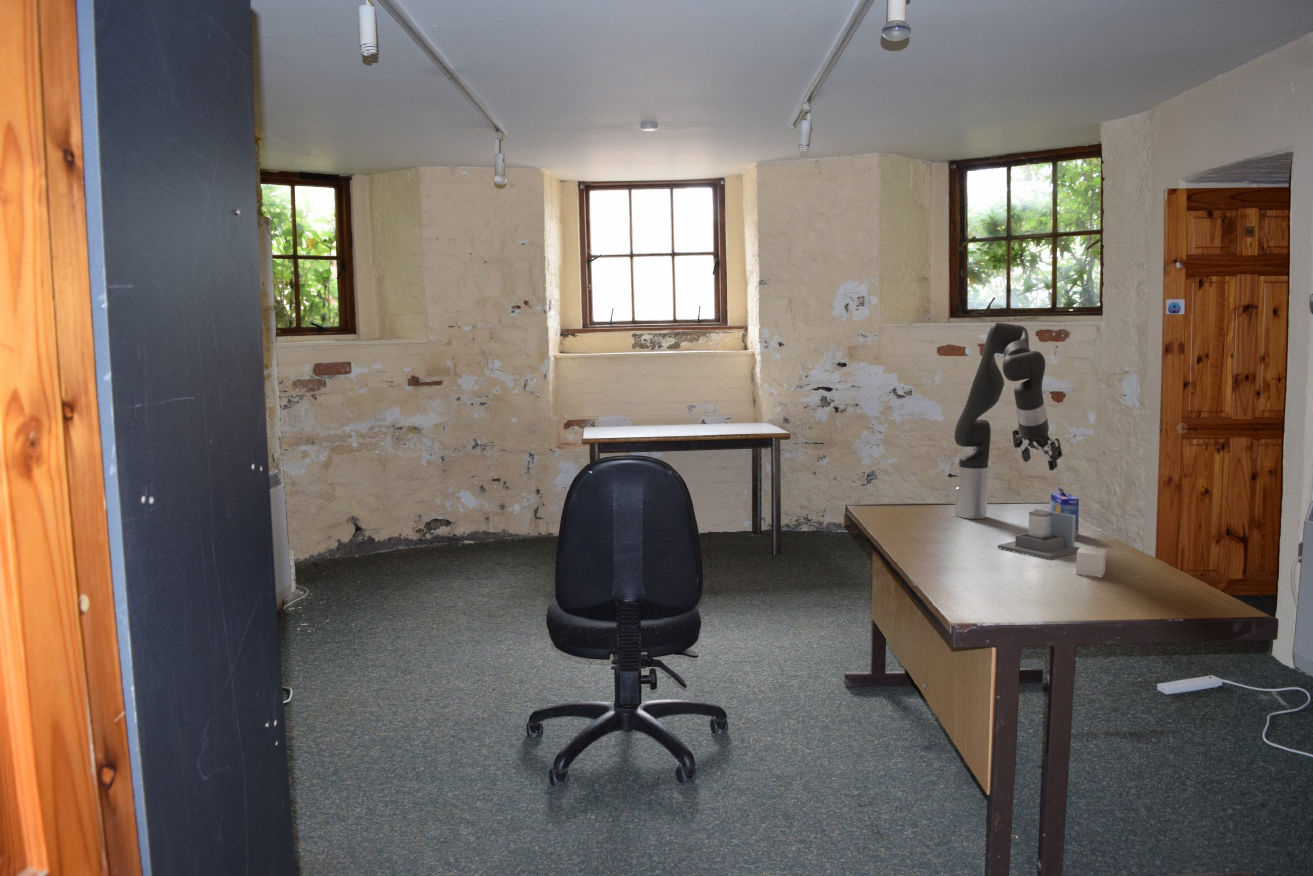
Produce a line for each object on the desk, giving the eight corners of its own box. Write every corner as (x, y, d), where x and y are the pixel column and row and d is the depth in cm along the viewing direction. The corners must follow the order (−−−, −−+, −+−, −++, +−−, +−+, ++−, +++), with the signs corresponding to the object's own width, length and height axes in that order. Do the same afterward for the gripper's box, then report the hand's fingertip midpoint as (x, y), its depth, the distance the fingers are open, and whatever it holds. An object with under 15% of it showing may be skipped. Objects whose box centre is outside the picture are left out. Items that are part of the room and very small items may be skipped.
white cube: (1101, 578, 221) (1102, 554, 220) (1075, 574, 224) (1076, 552, 224) (1104, 572, 226) (1105, 549, 225) (1079, 569, 229) (1080, 547, 229)
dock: (997, 548, 252) (998, 514, 251) (1030, 540, 261) (1031, 508, 260) (1049, 559, 239) (1050, 524, 238) (1081, 551, 248) (1082, 516, 247)
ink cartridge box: (1048, 530, 274) (1050, 485, 273) (1066, 530, 274) (1068, 485, 272) (1059, 537, 265) (1061, 490, 263) (1078, 538, 264) (1080, 491, 262)
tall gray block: (1027, 546, 250) (1029, 511, 249) (1036, 543, 253) (1038, 510, 252) (1041, 549, 247) (1043, 514, 246) (1050, 546, 249) (1052, 512, 248)
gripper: (1063, 416, 236) (1070, 465, 243) (1019, 404, 248) (1027, 451, 255) (1045, 430, 233) (1052, 479, 241) (1001, 417, 245) (1010, 464, 253)
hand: (1039, 464), depth 248 cm, fingers open, 8 cm apart
